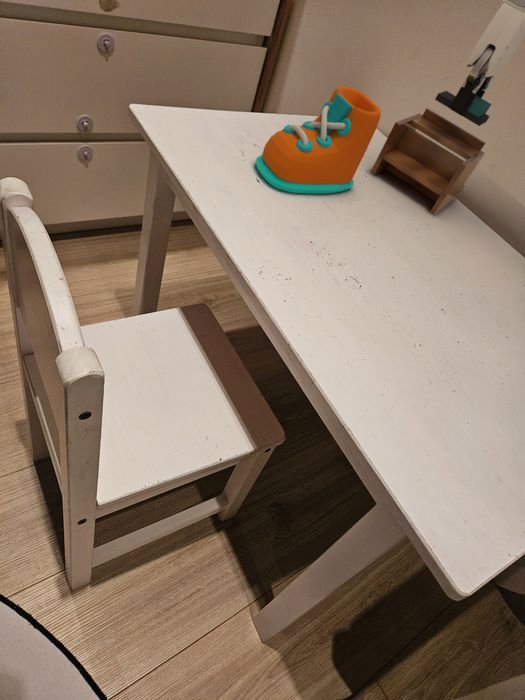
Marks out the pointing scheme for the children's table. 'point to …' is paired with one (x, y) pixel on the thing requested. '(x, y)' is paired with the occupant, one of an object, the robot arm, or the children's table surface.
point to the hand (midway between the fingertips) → (461, 109)
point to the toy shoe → (322, 146)
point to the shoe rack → (430, 156)
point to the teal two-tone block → (474, 112)
